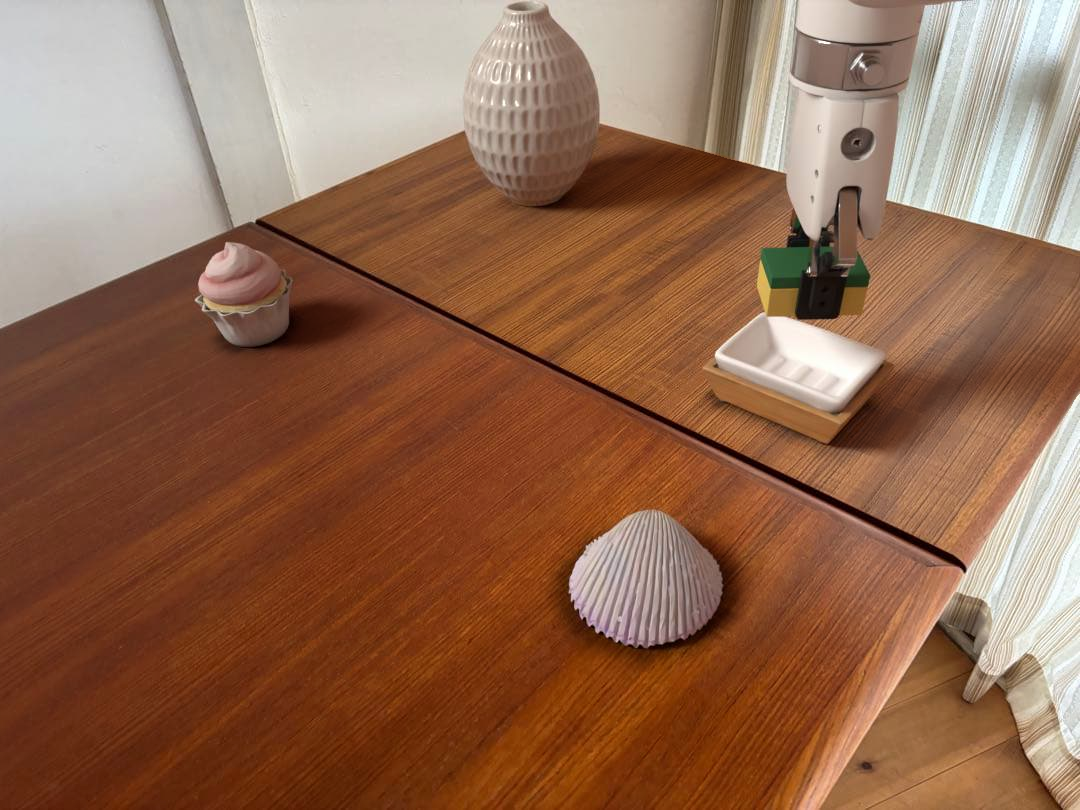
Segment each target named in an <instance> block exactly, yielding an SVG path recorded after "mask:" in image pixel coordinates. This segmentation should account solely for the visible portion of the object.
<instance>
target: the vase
mask: <svg viewBox="0 0 1080 810" xmlns="http://www.w3.org/2000/svg"><path fill="white" fill-rule="evenodd" d="M597 85H598V84H597V82H596V78H595V74H594V72H593V69H592V67H591V64H590V62H589V61H588V58H587V57H586V54H585V53H584V51H583V50H582V48H581V47H580V46H579V44H578V43H577V41H576V40H575V39H574V38H573V37H571V35H570V34H569V33H568V32H567V31H566V29H564V28H563V27H562V26H561V25H560V24H559V23H558V22H557V21H556V20H555V19H554V18H553V17H552V15H551V13H550V9H549V6H548V4H546V3H545V2H542V1H533V0H525V1H517V2H513V3H510V4H507V5H506V6H504V7H503V10H502V17H501V19H500V21H499V22H498V24H497V25H496V26H495V27H494V28H493V30H492V31H491V32H490V33H489V35H488V36H487V37H486V38H485V40H484V41H483V43H482V44H481V45H480V46H479V48H478V50H477V52H476V53H475V55H474V57H473V59H472V61H471V64H470V66H469V68H468V72H467V75H466V79H465V83H464V89H463V97H462V116H463V124H464V125H463V126H464V132H465V135H466V139H467V143H468V147H469V150H470V152H471V154H472V156H473V158H474V161H475V164H476V165H477V166H478V167H479V168H480V170H481V172H482V173H483V175H484V176H485V178H486V179H487V180H488V181H489V182H490V183H491V185H493V187H494V188H495V189H496V190H497V191H498V192H499V193H500V194H502V195H503V196H504V197H505V198H507V199H508V200H509V201H511V202H512V203H513V204H516V205H519V206H523V207H524V206H525V207H543V206H548V205H551V204H553V203H556V202H559V200H561V199H562V198H563V197H564V196H565V195H566V193H568V192H569V191H570V190H571V188H573V187H574V186H575V184H576V183H577V182H578V180H579V179H580V177H581V176H582V175H583V173H584V172H585V169H586V167H587V165H588V164H589V162H590V160H591V159H592V156H593V154H594V151H595V148H596V144H597V140H598V134H599V129H600V121H601V120H600V119H601V114H600V111H601V109H600V108H601V105H600V95H599V90H598V89H599V88H598V86H597Z"/></svg>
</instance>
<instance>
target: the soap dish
mask: <svg viewBox="0 0 1080 810" xmlns="http://www.w3.org/2000/svg"><path fill="white" fill-rule="evenodd" d="M895 367H896V364H895V363H893V362H891V361H889V360H887V359H886V353H885V352H884V351H883V350H881V349H879V348H876V347H874V346H873V345H872V346H871V345H869V344H866V343H863V342H861V341H858V340H855V339H852V338H851V337H850V338H849V337H847V336H844V335H842V334H838V333H836V332H834V331H830V330H827V329H824V328H822V327H819V326H816V325H813V324H810V323H807V322H804V321H802V320H798V319H794V318H791V317H790V316H785V317H766V314H765V311H764V312H761V313H759V314H758V315H756V316H755V317H754V318H753V319H752V320H750V321H749V322H748V323H747V324H745V325H744V326H743V327H742V328H740V329H739V330H738V331H737V332H735V333H734V334H733V335H732V336H731V337H729V338H728V339H727V340H726V341H725V342H724V343H722V344H721V346H719V347H718V349H716V351H715V353H714V356H713V357H712V358H711V359H710V360H709V361H707V362H706V363H705V364H704V365H702V371H703V373H704V376H705V378H706V379H707V382H708V383H709V386H710V387H711V389H712V391H713V393H714V395H715V397H716V398H717V399H718V400H719V401H720V402H721V403H729V404H731V405H733V406H735V407H738V408H740V409H742V410H745V411H748V412H749V413H752V414H755V415H756V416H759V417H762V418H764V419H767V420H769V421H771V422H773V423H776V424H778V425H780V426H783V427H785V428H787V429H790V430H792V431H795V432H797V433H800V434H802V435H804V436H806V437H808V438H811V439H814V440H816V441H817V442H818V443H820V444H826V445H829V444H830V443H831V442H832V441H833V440H834V438H835V437H836V436H837V435H838V434H839V433H840V432H841V431H842V429H844V427H845V426H846V425H847V424H848V423H849V422H850V420H852V419H853V417H854V416H855V415H857V413H858V412H859V411H860V409H861V408H862V407H864V405H865V404H866V403H867V402H868V400H869V399H870V398H871V397H872V396H873V395H874V394H875V393H876V391H877V389H879V387H880V386H881V385H882V383H883V382H884V381H885V380H886V378H887V377H888V376H889V374H890V373H891V372H892V371H893V369H894V368H895Z"/></svg>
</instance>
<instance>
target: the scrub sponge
mask: <svg viewBox="0 0 1080 810" xmlns="http://www.w3.org/2000/svg"><path fill="white" fill-rule="evenodd" d="M833 246H834V245H832V246H831V245H830V246H829V247H820V256H821V255H822V254H823V253H824V252H831V250H832V249H833ZM760 250H761V251H760V259H759V265H758V266H759V267H758V275H757V282H756V288H757V291H758V295H759V297H760V301H761V304H762V307H763V310H764V312H765V314H766V317H796V315H795V308H796V302H797V296H798V290H799V284H800V278H801V272H802V270H807V262H808V251H809V247H786V246H785V247H762V248H761V249H760ZM870 279H871V274H870V272H869V270H868V268H867V266H866V264H865V263H864V260H863V258H862V256H861V255H860V253H859V250H858V249H857V262H856V264H855V265H853V266H851V267H850V271H849V275H848V276H847V280H846V285H845V290H844V295H843V299H842V304H841V309H840V314H839V316H838V317H840V316H842V317H843V316H862V315H863V311H864V306H865V302H866V298H867V293H868V289H869V283H870Z"/></svg>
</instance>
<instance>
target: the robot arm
mask: <svg viewBox="0 0 1080 810" xmlns="http://www.w3.org/2000/svg"><path fill="white" fill-rule="evenodd" d="M969 1H970V2H971V1H972V0H798V4H797V5H798V6H797V12H796V13H797V14H796V21H795V22H796V23H795V27H794V34H793V42H792V50H791V57H790V66H789V72H788V81H789V83H790V84H791V85H792V86H793V87H794V88H796V89H799V90H798V92H797V100H796V106H795V111H794V116H793V123H792V128H791V133H790V140H789V146H788V147H789V148H788V156H787V165H786V177H785V178H786V180H785V185H786V190H787V193H788V197H789V199H790V202H791V204H792V207H793V208H792V210H791V216H790V220H789V233H790V235H789V234H788V235H787V239H786V245H785V247H809V251H808V262H807V270H802V272H801V278H800V284H799V290H798V296H797V302H796V308H795V315H796V316H795V318H796V320H798V321H807V320H810V321H811V320H812V321H813V320H836V319H838V318H839V317H840V316H839V314H840V309H841V304H842V299H843V295H844V290H845V285H846V280H847V276H848V275H849V271H850V267H851V266H853V265H855V264H856V262H857V250H858V230H859V232H860V234H861V236H862V237H863V239H864V240H865V239H866V240H868V241H874V240H876V239H877V238H878V237H879V235H880V234H881V230H882V226H883V220H884V215H885V209H886V203H887V197H888V192H889V187H890V181H891V174H892V169H893V168H892V167H893V163H894V156H895V155H894V154H895V149H896V140H897V130H898V119H899V103H900V101H899V99H900V96H899V93H901V92H902V91H904V90H905V89H906V88H907V87H908V85H909V82H910V76H911V71H912V68H913V62H914V58H915V53H916V50H917V49H916V48H917V45H918V40H919V35H920V30H921V25H922V21H923V17H924V12H925V9H926V8H925V7H926V6H934V5H943V4H946V3H956V2H957V3H958V2H969ZM830 226H833V230H829V228H830ZM831 244H833V245H832V246H833V249H832V250H831V252H824V253H823V254H822V255H821V256H820V247H829V246H831Z"/></svg>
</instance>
